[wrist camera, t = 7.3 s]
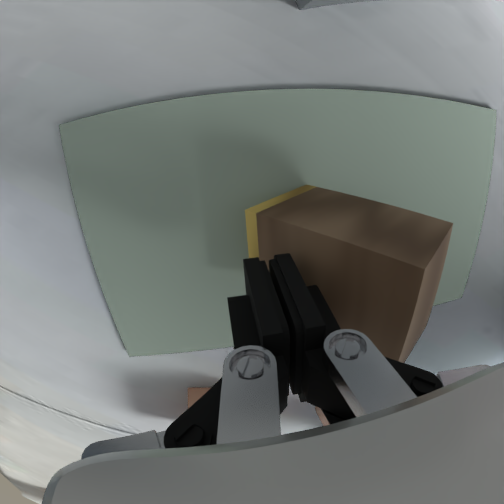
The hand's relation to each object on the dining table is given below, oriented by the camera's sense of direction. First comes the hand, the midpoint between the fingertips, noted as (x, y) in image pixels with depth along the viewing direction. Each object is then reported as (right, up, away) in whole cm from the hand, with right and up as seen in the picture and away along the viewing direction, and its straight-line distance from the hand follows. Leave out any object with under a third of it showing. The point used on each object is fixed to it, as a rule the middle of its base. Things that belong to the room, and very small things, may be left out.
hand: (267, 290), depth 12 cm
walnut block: (+1, +2, +3) cm, 3 cm away
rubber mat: (+3, +3, +5) cm, 6 cm away
